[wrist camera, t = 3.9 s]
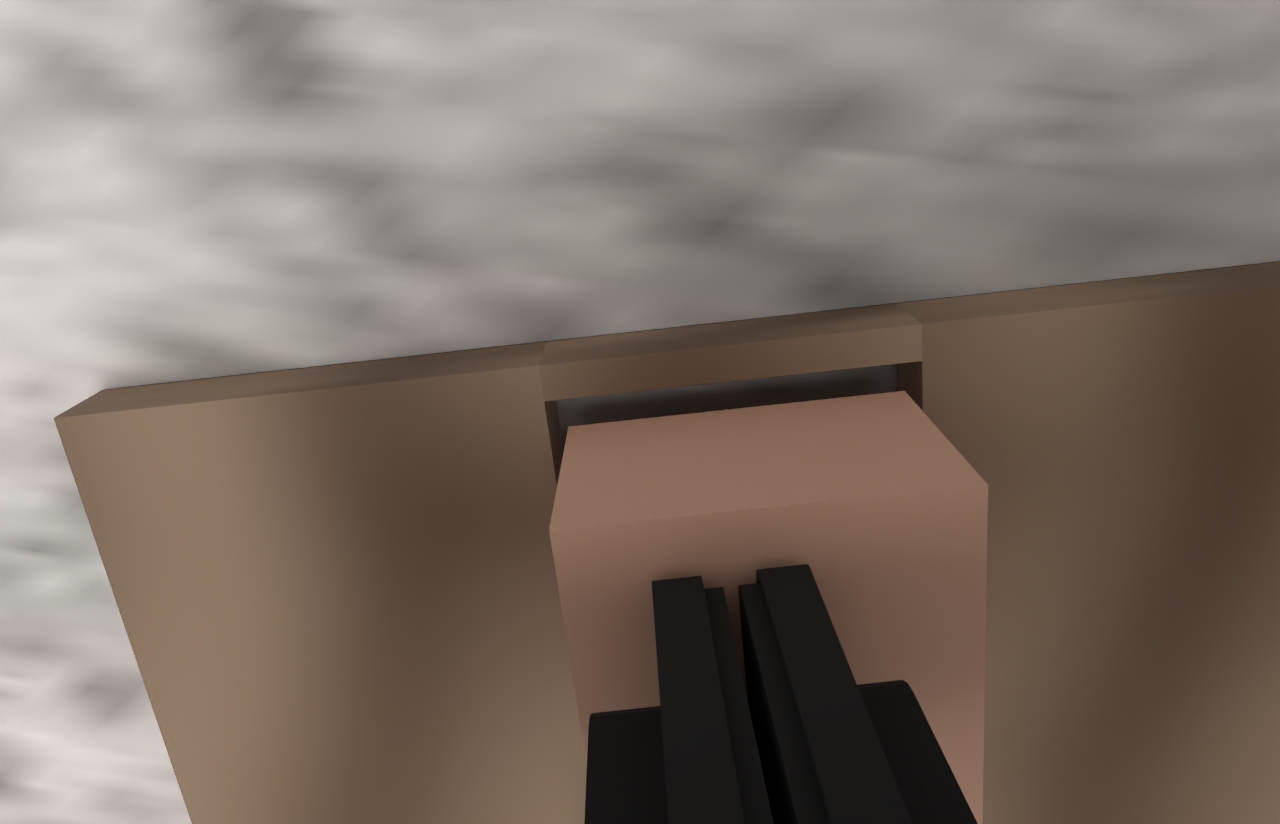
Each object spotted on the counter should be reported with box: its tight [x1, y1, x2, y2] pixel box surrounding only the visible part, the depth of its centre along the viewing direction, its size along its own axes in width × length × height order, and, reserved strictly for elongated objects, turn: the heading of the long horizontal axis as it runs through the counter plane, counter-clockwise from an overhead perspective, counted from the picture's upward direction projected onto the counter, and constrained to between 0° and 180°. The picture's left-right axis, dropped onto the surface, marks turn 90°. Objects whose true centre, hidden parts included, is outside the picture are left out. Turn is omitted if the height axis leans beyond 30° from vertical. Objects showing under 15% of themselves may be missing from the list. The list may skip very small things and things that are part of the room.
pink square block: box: [549, 391, 988, 824], centre depth 11 cm, size 4×4×3 cm
